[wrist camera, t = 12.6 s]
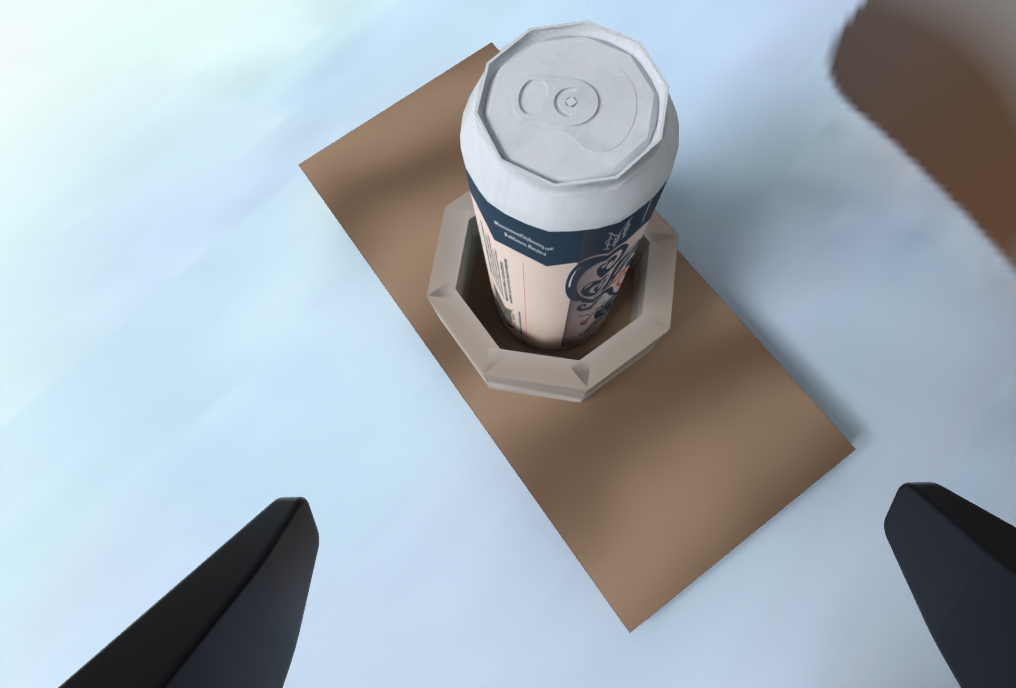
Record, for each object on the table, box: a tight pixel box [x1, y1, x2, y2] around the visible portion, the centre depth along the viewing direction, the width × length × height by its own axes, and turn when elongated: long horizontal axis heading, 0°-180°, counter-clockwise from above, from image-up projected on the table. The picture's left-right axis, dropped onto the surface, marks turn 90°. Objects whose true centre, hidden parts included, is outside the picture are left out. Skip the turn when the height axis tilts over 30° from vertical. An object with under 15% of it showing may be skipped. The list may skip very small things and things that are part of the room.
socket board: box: [299, 42, 855, 633], centre depth 21 cm, size 24×11×4 cm, turn 36°
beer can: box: [460, 21, 679, 350], centre depth 16 cm, size 5×5×12 cm
